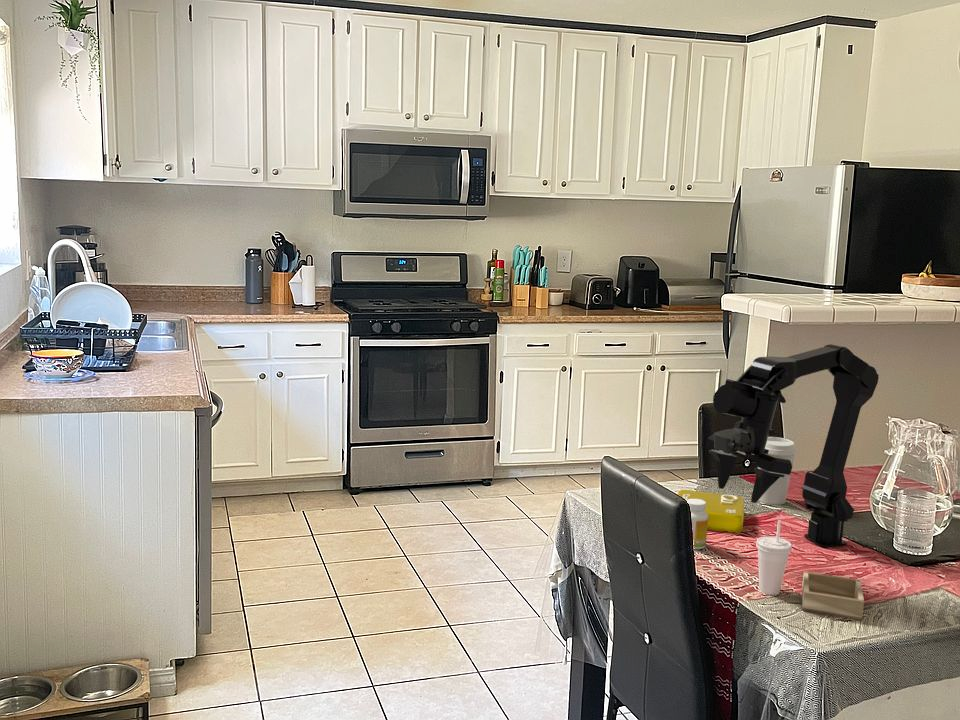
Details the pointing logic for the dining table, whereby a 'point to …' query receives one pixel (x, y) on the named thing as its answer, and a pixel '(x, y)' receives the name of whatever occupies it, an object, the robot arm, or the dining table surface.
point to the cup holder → (832, 595)
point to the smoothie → (772, 562)
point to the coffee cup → (780, 487)
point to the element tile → (720, 509)
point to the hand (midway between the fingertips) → (736, 495)
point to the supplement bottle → (698, 522)
